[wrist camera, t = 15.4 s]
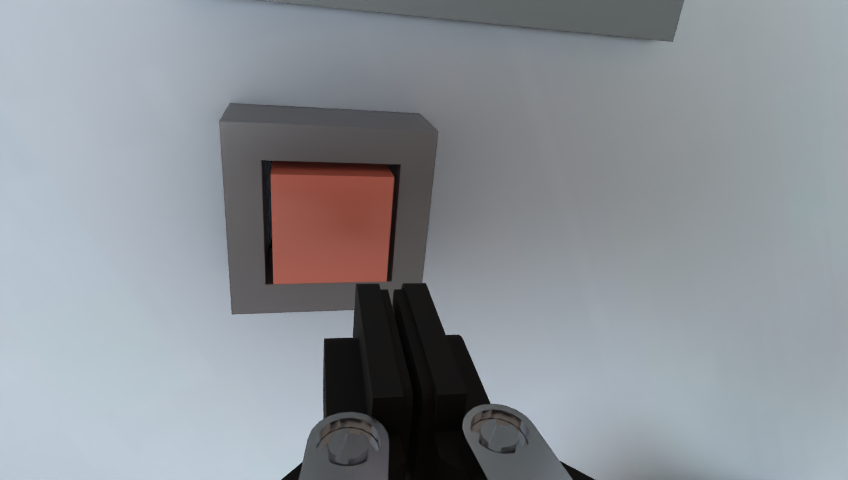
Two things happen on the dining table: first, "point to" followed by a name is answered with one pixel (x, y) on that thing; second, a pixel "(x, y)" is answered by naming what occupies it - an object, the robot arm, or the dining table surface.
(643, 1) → the slate board
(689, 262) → the dining table surface
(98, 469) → the dining table surface
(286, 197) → the button
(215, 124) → the dining table surface
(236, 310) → the button housing
